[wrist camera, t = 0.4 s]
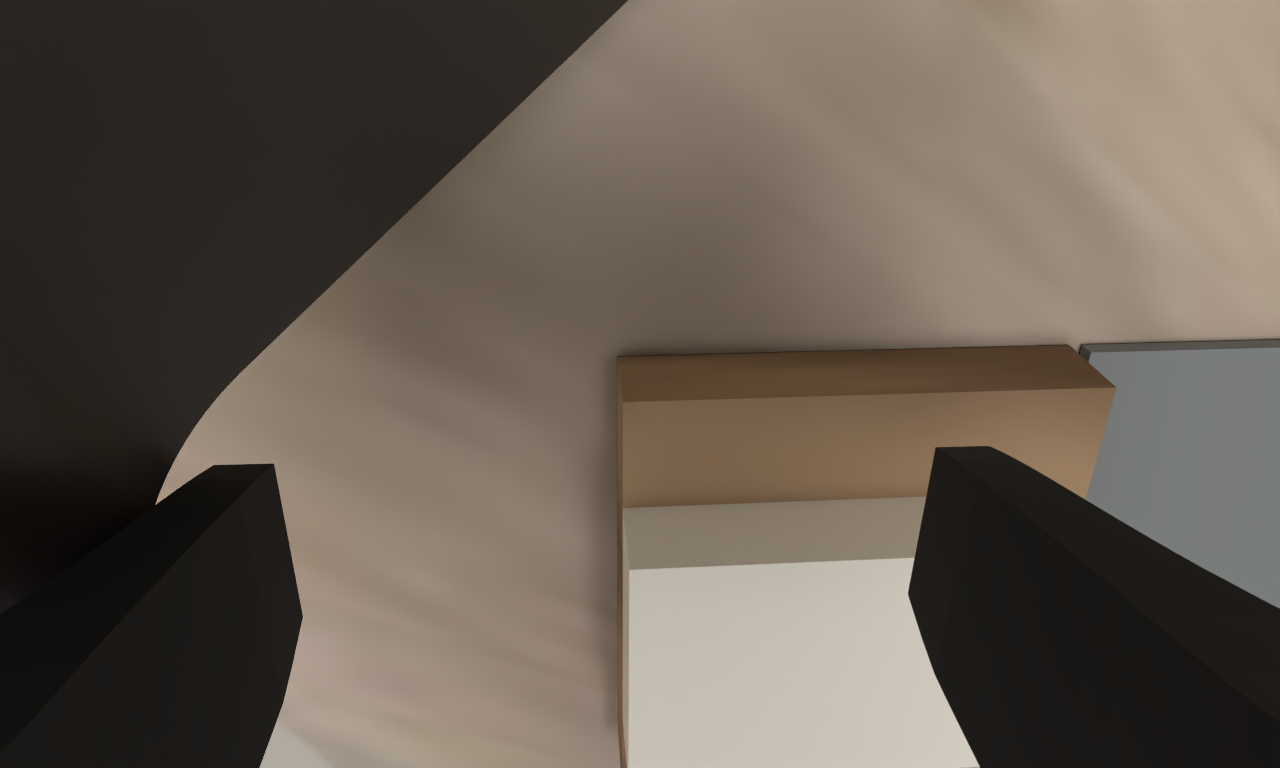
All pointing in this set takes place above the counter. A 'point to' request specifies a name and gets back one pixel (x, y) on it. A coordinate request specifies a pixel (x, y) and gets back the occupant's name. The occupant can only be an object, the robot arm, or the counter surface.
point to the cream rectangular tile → (779, 639)
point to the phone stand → (206, 211)
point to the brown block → (843, 425)
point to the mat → (1196, 453)
